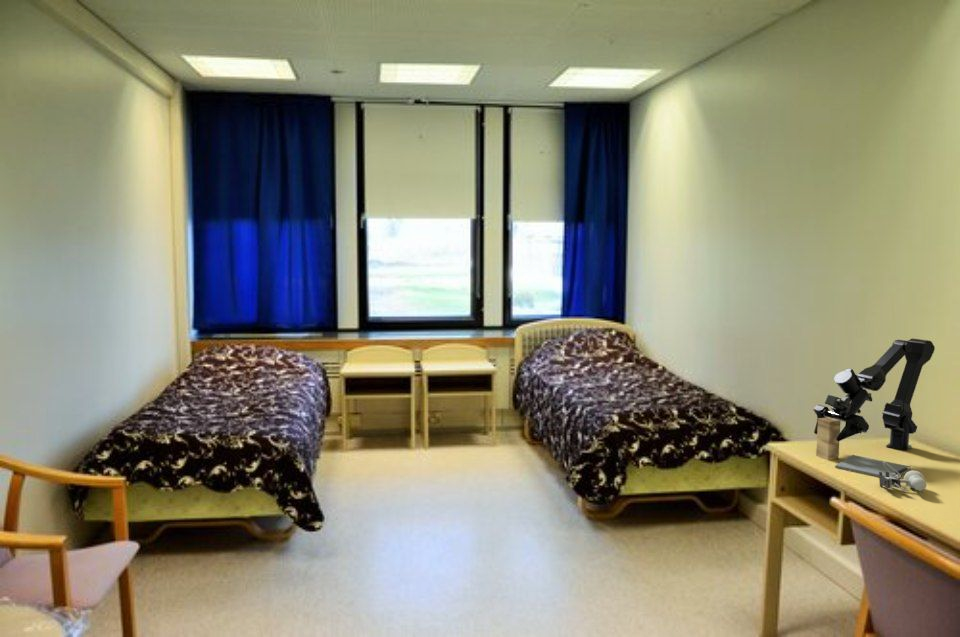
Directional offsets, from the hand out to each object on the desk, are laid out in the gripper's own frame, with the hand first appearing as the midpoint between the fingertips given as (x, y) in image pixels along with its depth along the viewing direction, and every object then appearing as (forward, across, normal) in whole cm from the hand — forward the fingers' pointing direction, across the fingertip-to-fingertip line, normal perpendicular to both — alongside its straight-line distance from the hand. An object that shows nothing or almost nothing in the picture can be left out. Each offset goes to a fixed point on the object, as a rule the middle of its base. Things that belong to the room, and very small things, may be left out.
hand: (825, 436), depth 234 cm
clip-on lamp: (+6, +29, +4) cm, 30 cm away
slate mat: (+1, +14, +9) cm, 17 cm away
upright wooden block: (+4, 0, +6) cm, 7 cm away
